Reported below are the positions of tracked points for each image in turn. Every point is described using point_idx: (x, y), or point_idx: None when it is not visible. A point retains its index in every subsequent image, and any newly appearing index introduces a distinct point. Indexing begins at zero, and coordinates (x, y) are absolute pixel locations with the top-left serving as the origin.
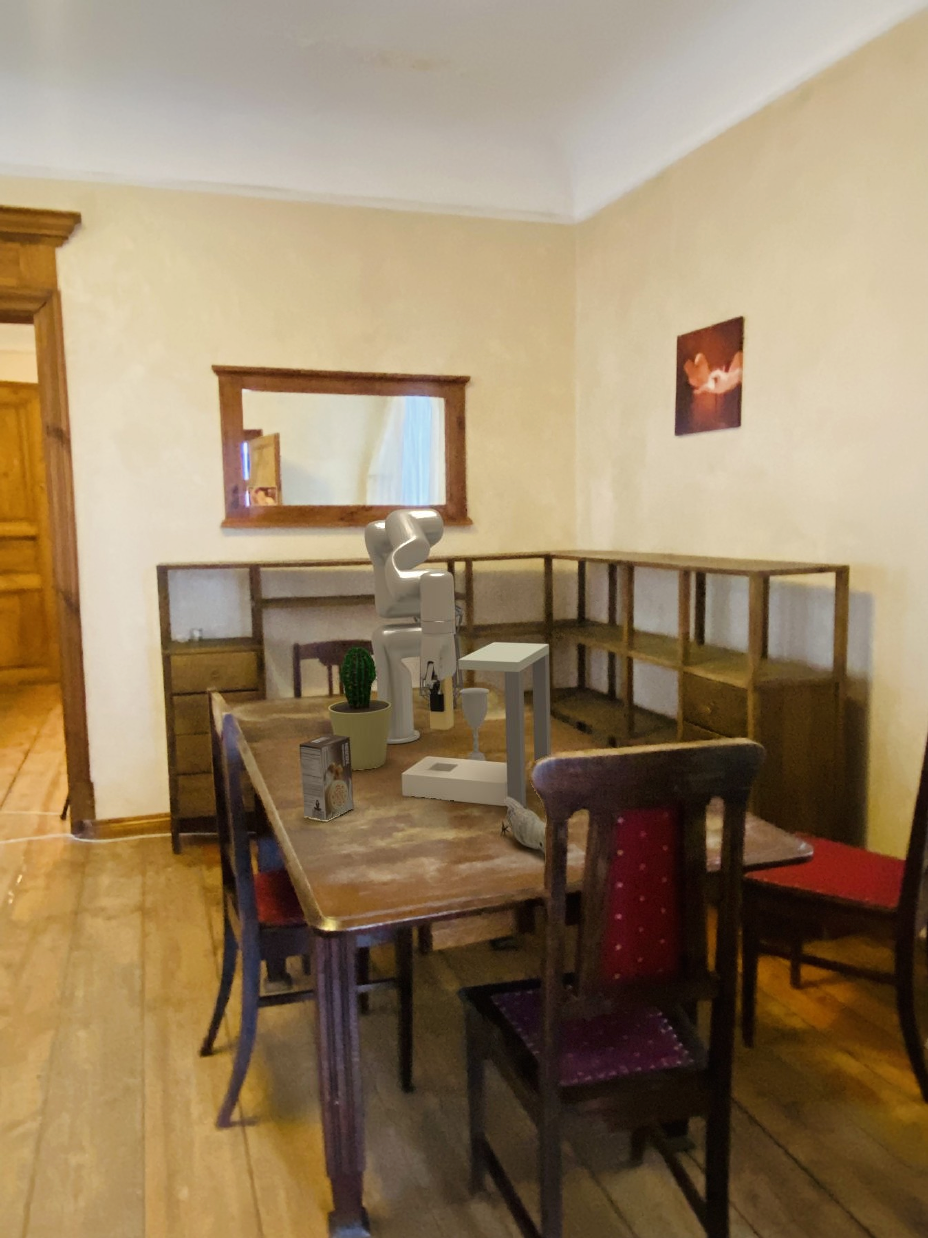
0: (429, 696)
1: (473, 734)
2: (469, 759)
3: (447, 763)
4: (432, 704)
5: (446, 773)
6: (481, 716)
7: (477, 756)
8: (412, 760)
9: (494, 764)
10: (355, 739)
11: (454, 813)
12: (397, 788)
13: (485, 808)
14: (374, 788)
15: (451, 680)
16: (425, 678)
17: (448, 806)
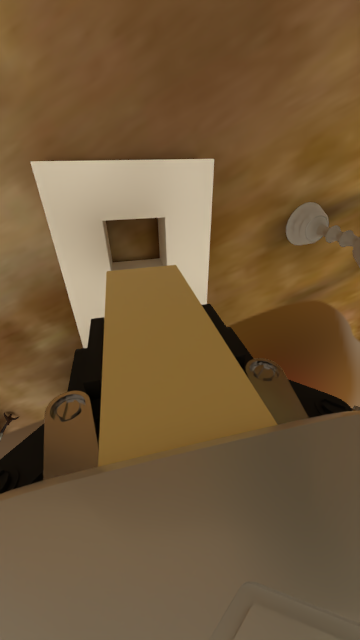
0: (103, 354)
1: (347, 235)
2: (300, 217)
3: (168, 246)
4: (74, 360)
5: (97, 279)
6: None
7: (302, 236)
8: (323, 33)
9: None
10: None
11: (20, 316)
12: (87, 114)
13: (73, 345)
14: (51, 24)
15: None
16: (50, 494)
17: (46, 291)
